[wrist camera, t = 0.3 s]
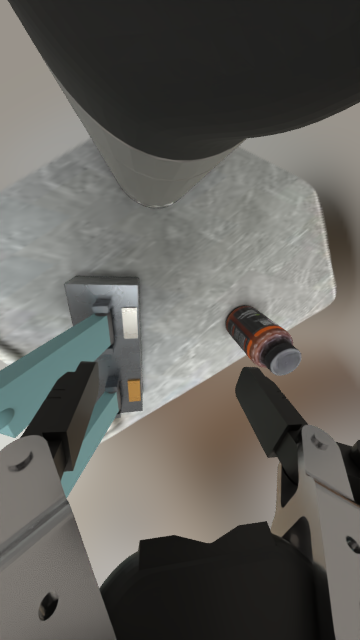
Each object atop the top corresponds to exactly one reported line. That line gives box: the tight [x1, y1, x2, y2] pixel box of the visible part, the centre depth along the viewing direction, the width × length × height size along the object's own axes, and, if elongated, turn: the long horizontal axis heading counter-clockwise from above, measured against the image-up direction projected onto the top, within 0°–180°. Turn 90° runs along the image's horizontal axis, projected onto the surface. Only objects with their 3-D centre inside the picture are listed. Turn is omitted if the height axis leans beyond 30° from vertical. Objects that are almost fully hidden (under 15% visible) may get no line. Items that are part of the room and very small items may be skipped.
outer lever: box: [61, 386, 121, 498], centre depth 22 cm, size 4×2×14 cm, turn 176°
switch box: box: [64, 276, 143, 418], centre depth 27 cm, size 22×8×6 cm, turn 176°
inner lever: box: [0, 311, 114, 438], centre depth 17 cm, size 4×2×14 cm, turn 176°
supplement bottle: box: [226, 306, 301, 375], centre depth 26 cm, size 6×6×11 cm
